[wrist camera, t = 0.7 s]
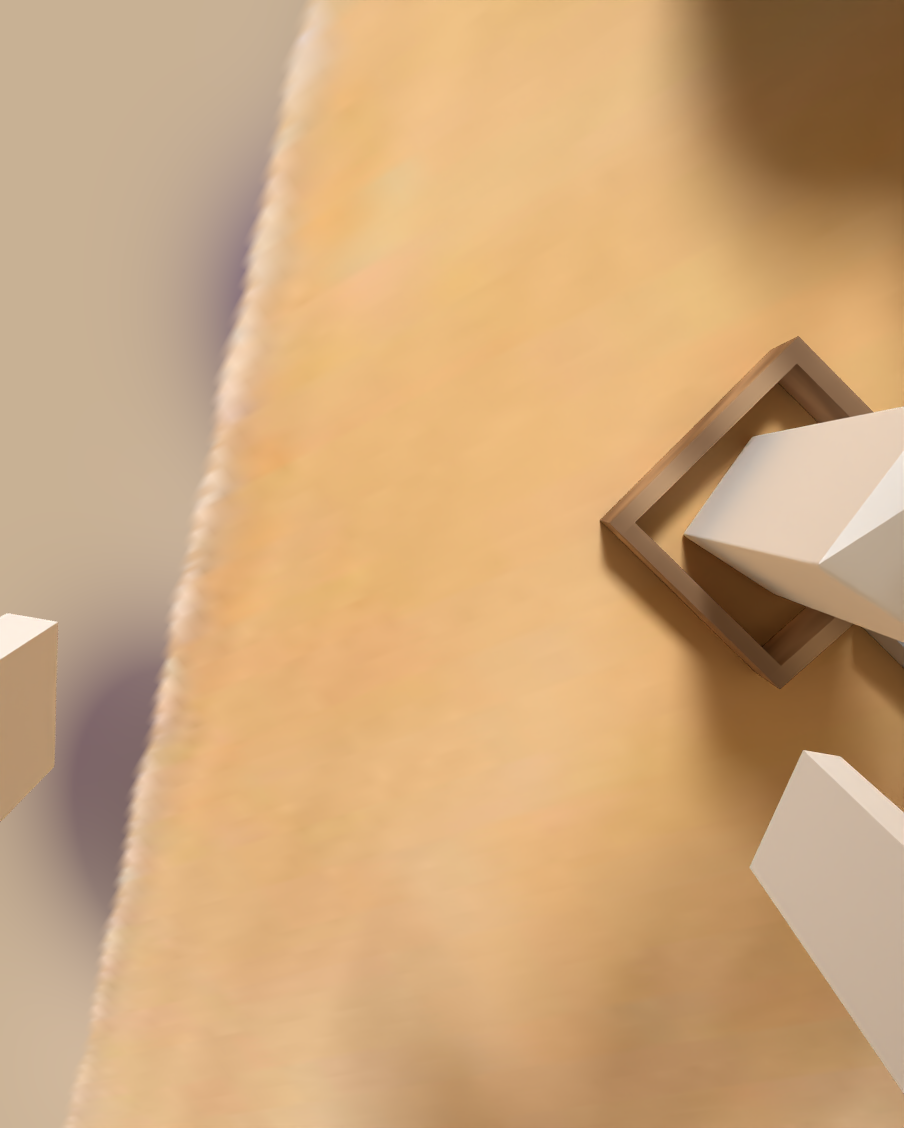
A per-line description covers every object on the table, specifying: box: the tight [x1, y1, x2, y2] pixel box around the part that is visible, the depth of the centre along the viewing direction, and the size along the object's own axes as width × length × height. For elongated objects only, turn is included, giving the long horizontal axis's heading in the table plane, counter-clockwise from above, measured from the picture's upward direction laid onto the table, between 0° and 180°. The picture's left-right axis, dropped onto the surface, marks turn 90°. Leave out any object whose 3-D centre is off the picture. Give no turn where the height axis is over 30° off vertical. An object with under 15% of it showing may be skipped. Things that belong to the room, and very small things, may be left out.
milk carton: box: [684, 407, 904, 642], centre depth 26 cm, size 7×7×19 cm
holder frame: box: [600, 336, 874, 689], centre depth 34 cm, size 14×14×3 cm
